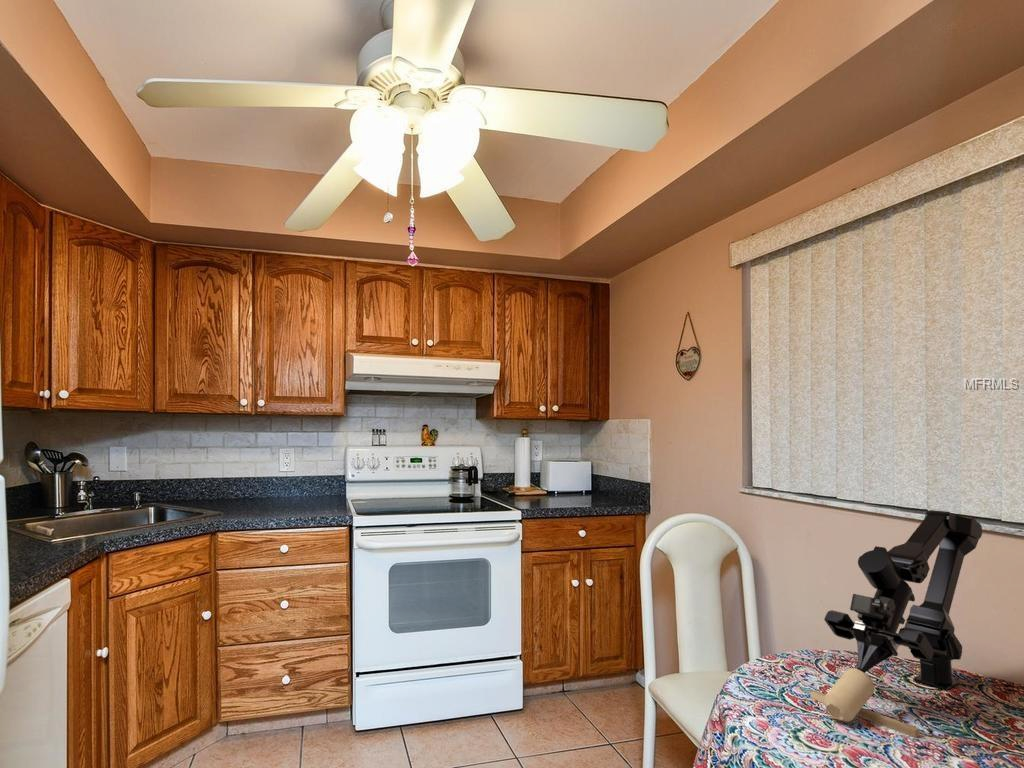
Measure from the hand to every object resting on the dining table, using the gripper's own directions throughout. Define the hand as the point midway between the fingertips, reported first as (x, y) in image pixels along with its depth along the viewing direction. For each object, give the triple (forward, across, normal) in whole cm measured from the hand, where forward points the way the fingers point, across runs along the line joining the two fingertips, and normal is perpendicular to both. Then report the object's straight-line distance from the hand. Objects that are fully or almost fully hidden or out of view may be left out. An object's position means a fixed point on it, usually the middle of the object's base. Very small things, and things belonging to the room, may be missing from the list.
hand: (860, 671), depth 121 cm
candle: (+1, -1, +2) cm, 2 cm away
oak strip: (+6, 0, +5) cm, 8 cm away
